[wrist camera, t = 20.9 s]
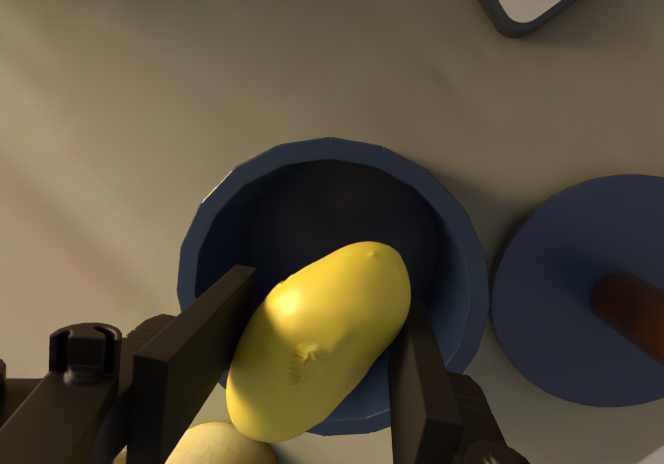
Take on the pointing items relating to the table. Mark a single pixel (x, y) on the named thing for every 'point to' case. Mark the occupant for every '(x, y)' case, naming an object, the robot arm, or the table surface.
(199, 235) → the tin
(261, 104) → the table surface
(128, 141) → the table surface
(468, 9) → the table surface
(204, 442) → the mug
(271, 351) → the lemon
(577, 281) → the lid
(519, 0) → the phone case
